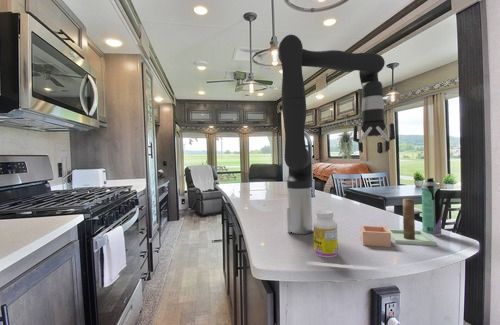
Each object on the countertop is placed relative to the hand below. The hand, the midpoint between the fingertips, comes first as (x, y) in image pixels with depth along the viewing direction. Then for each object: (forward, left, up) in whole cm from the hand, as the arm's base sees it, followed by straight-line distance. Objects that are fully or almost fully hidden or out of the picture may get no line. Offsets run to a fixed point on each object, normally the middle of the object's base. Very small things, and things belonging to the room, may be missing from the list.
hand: (373, 152), depth 98 cm
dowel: (+8, -11, -29) cm, 32 cm away
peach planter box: (-3, -17, -30) cm, 35 cm away
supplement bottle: (-18, -30, -30) cm, 46 cm away
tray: (+8, -11, -30) cm, 33 cm away
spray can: (+18, -1, -30) cm, 35 cm away
